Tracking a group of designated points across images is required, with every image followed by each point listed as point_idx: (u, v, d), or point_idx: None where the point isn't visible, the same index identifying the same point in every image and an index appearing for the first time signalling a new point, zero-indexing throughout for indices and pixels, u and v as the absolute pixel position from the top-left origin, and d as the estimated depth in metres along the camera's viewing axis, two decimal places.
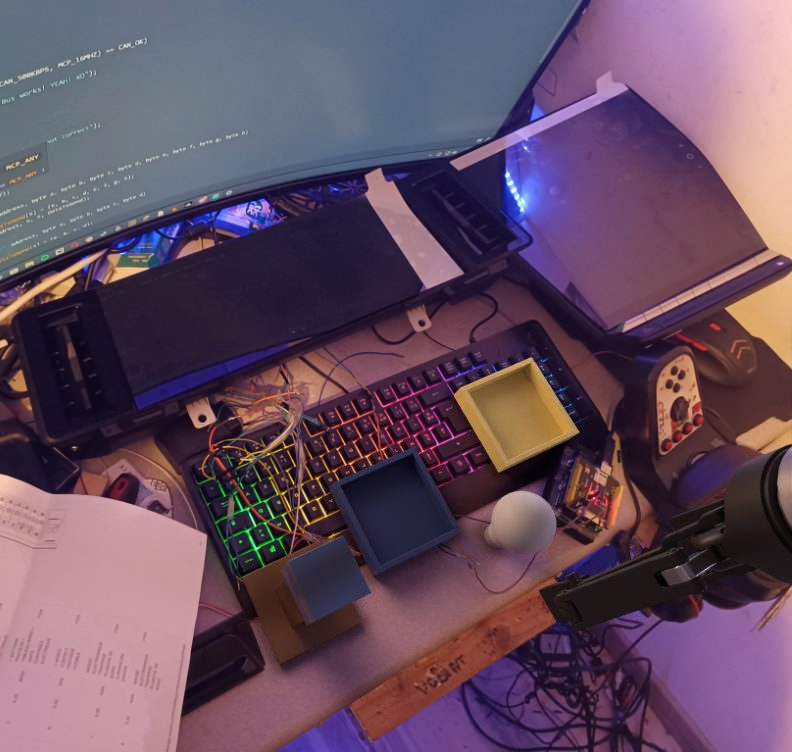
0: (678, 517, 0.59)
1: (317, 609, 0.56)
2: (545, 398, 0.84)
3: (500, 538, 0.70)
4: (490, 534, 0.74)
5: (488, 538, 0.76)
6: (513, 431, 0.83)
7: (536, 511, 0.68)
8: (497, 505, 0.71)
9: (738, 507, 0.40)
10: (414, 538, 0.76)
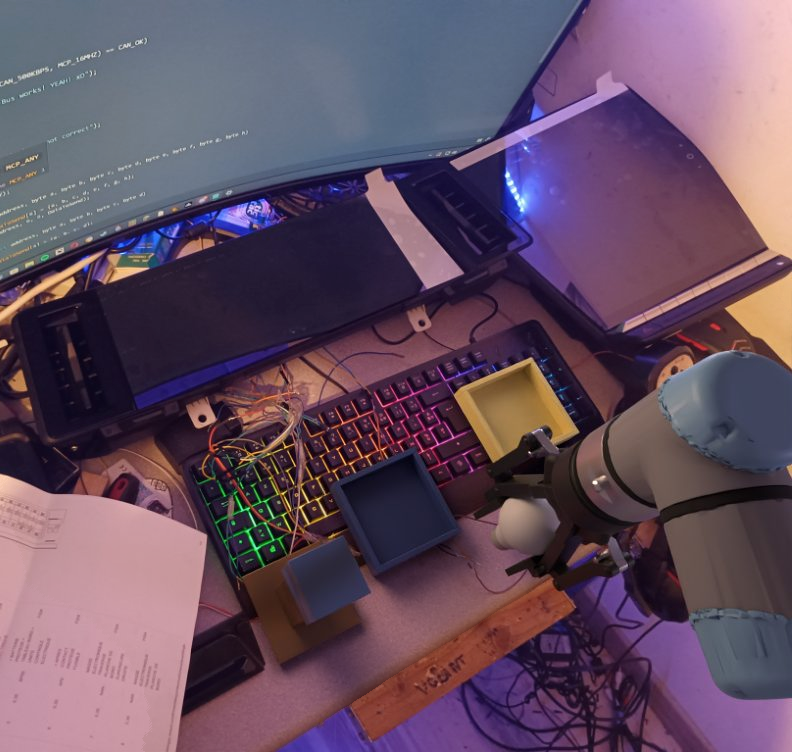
0: (481, 517, 0.75)
1: (317, 609, 0.56)
2: (545, 398, 0.84)
3: (508, 539, 0.68)
4: (497, 535, 0.73)
5: (495, 540, 0.74)
6: (513, 431, 0.83)
7: (544, 511, 0.66)
8: (504, 505, 0.69)
9: (607, 530, 0.55)
10: (414, 538, 0.76)
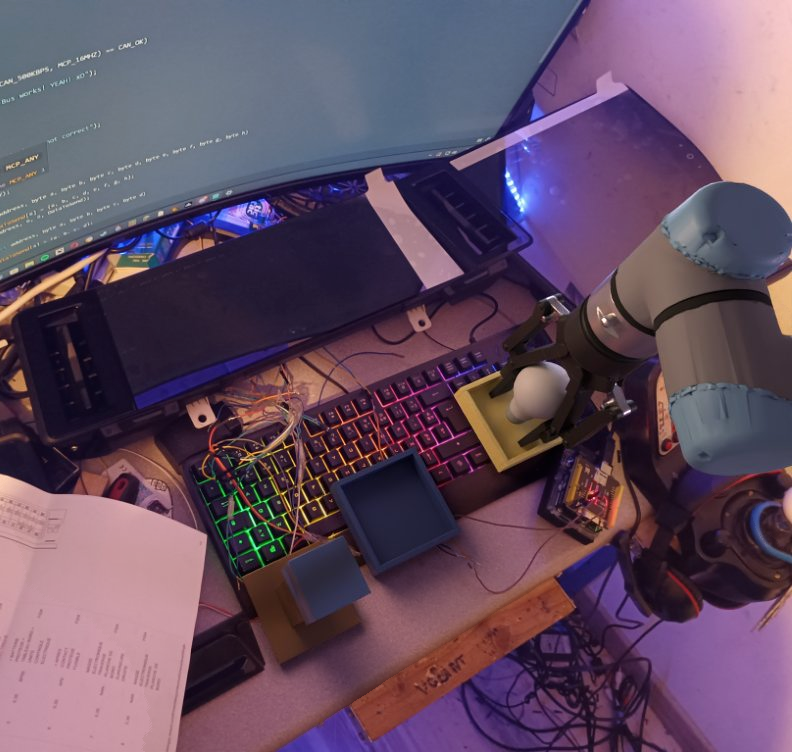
0: (496, 394, 0.82)
1: (317, 609, 0.56)
2: None
3: (522, 404, 0.75)
4: (512, 408, 0.80)
5: (509, 414, 0.81)
6: (513, 431, 0.83)
7: (556, 375, 0.73)
8: (519, 374, 0.76)
9: (613, 372, 0.63)
10: (414, 538, 0.76)
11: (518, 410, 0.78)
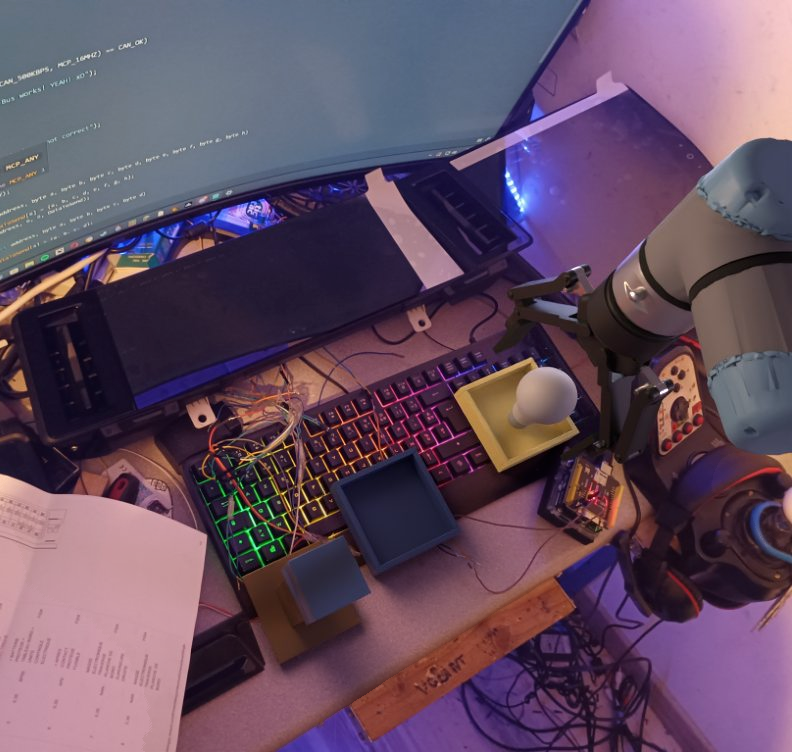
0: (501, 348, 0.78)
1: (317, 609, 0.56)
2: None
3: (525, 409, 0.75)
4: (514, 413, 0.80)
5: (512, 418, 0.81)
6: (513, 431, 0.83)
7: (558, 381, 0.73)
8: (522, 380, 0.76)
9: (640, 352, 0.59)
10: (414, 538, 0.76)
11: (520, 415, 0.78)
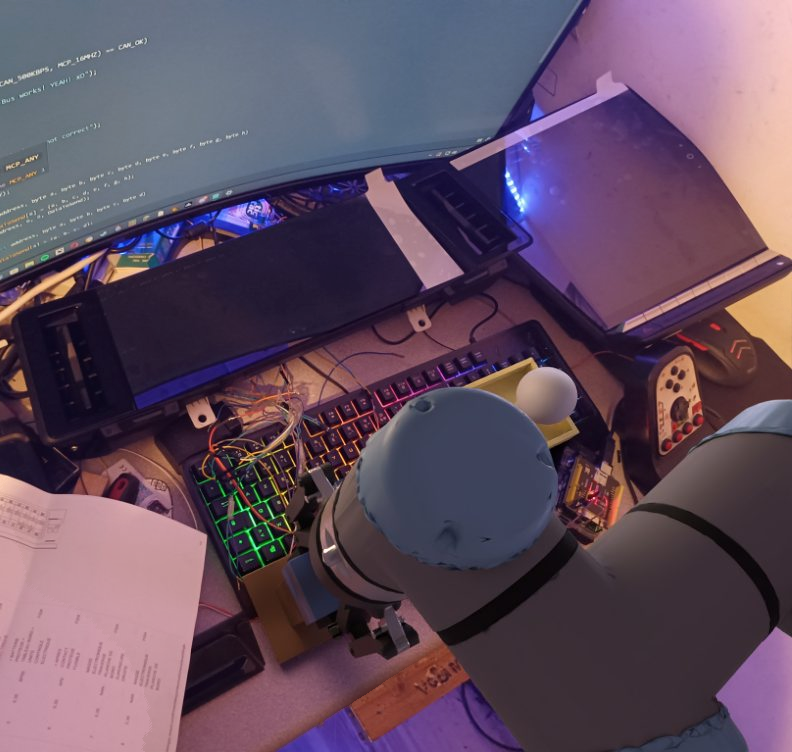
0: None
1: (317, 609, 0.56)
2: None
3: (525, 409, 0.75)
4: None
5: None
6: None
7: (558, 381, 0.73)
8: (522, 380, 0.76)
9: (368, 607, 0.43)
10: None
11: None
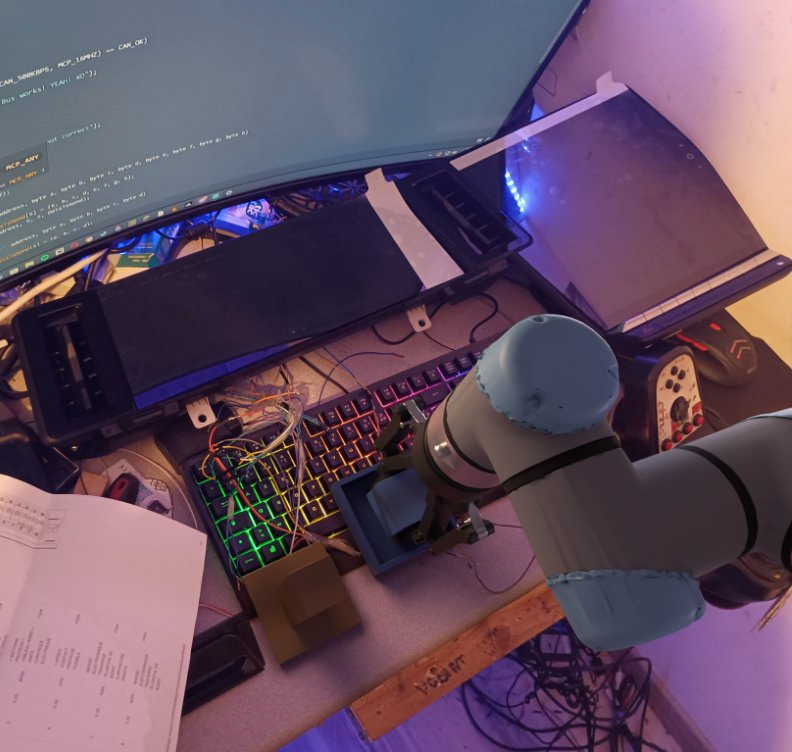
0: None
1: (401, 521, 0.69)
2: None
3: None
4: None
5: None
6: None
7: None
8: None
9: (460, 497, 0.56)
10: None
11: None
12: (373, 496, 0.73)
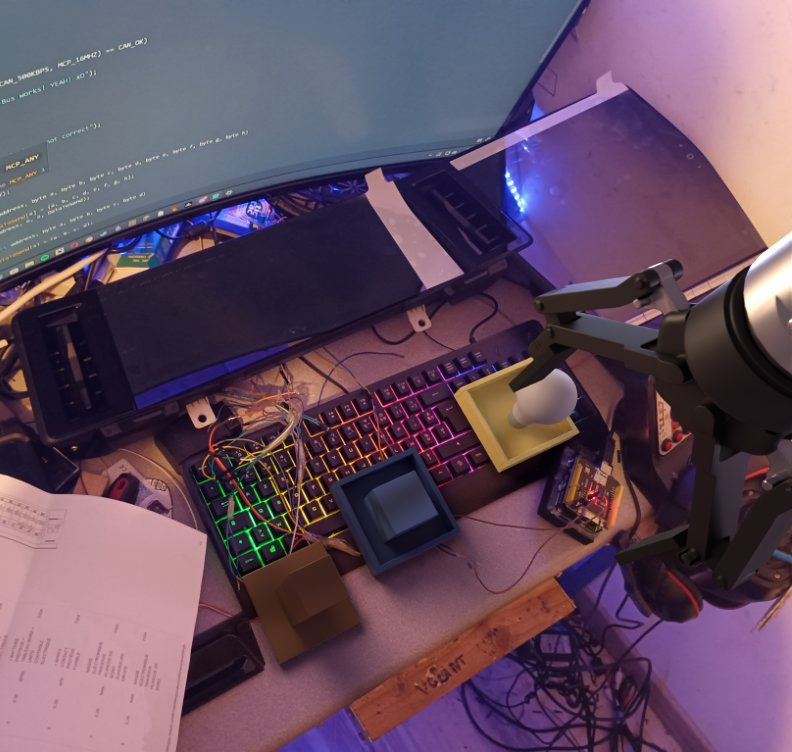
0: (522, 385, 0.51)
1: (396, 526, 0.71)
2: None
3: (525, 409, 0.75)
4: (514, 413, 0.80)
5: (512, 418, 0.81)
6: (513, 431, 0.83)
7: (558, 381, 0.73)
8: None
9: (789, 422, 0.32)
10: (414, 538, 0.76)
11: (520, 415, 0.78)
12: (369, 502, 0.75)
